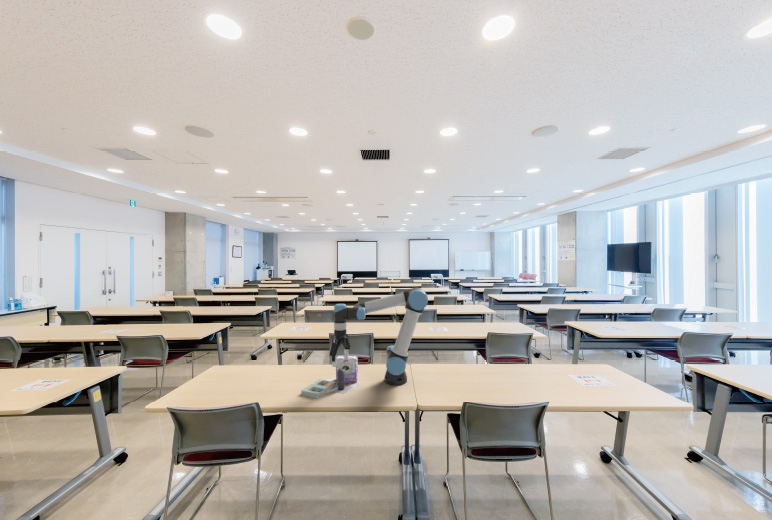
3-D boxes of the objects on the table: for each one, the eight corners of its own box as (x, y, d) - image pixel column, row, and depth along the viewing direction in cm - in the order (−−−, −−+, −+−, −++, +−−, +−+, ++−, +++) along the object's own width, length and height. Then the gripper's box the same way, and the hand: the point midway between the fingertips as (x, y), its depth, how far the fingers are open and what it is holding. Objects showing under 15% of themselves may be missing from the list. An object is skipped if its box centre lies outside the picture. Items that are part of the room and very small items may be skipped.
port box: (335, 386, 202) (334, 381, 202) (317, 398, 185) (317, 393, 185) (319, 383, 207) (319, 378, 207) (301, 395, 190) (301, 389, 190)
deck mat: (352, 387, 200) (352, 387, 200) (343, 394, 191) (343, 393, 191) (338, 385, 204) (338, 384, 204) (330, 391, 195) (330, 390, 195)
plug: (345, 388, 198) (345, 369, 198) (342, 390, 195) (342, 371, 194) (340, 387, 200) (340, 368, 200) (336, 389, 196) (336, 370, 196)
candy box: (358, 379, 212) (357, 355, 212) (356, 383, 207) (356, 358, 206) (338, 379, 214) (337, 355, 213) (335, 382, 208) (335, 358, 208)
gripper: (345, 324, 209) (345, 356, 210) (323, 333, 187) (323, 368, 187) (355, 325, 206) (355, 357, 207) (334, 334, 184) (334, 370, 184)
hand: (340, 362), depth 197 cm, fingers open, 13 cm apart
